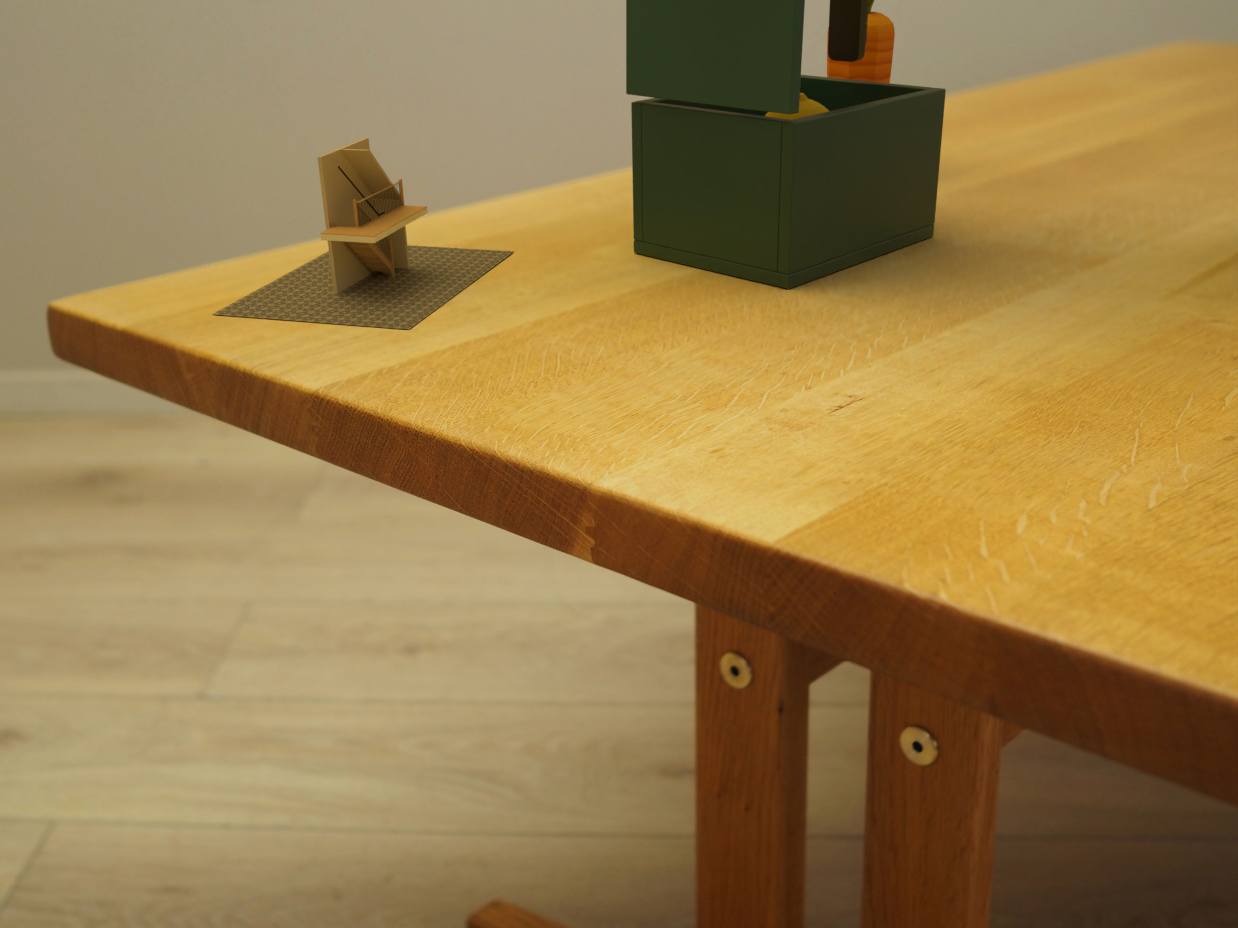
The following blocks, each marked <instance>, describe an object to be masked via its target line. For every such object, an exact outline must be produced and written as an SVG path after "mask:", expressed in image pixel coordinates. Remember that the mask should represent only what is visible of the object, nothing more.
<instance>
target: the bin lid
mask: <svg viewBox="0 0 1238 928" xmlns="http://www.w3.org/2000/svg"><path fill="white" fill-rule="evenodd" d="M805 5H806V0H625V16H626V17H625V64H626V65H625V88H626V89H625V93H626V95H628V96H629V95H630V96H636V97H637V96H638V97H647V98H661V99H669V100H677V101H685V102H693V103H701V104H709V105H717V106H725V107H733V108H741V109H749V110H757V111H765V112H773V113H782V114H795V113H799V100H800V82H801V75H802V63H803V62H802V59H803V44H804V43H803V42H804V25H805Z"/></svg>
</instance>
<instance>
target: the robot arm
mask: <svg viewBox="0 0 1238 928" xmlns="http://www.w3.org/2000/svg"><path fill="white" fill-rule="evenodd" d="M868 5H869V0H829V11H828V12H829V13H828V27H829V33H828V32H827V33H828V56H829V58H830V59H831V60H834V61H845V62H854V61H860V60H861V59H863V57H864V55H865V44H866V41H867V31H866V30H867V22H868Z"/></svg>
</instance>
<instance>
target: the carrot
mask: <svg viewBox="0 0 1238 928" xmlns="http://www.w3.org/2000/svg"><path fill="white" fill-rule="evenodd" d="M874 3H875V0H869V5H868V22H867V30H866V31H867V41H866V44H865V55H864V57H863V59H861V60H860V61H854V62H845V61H834V60H831V59H830V58H829V56H828V33H829V26H828V28H827V33H826V35H827V37H826V77H830V78H840V79H850V80H861V81H871V82H881V83H890V82H891V75H892V66H893V57H894V48H895V47H894V46H895V35H896V33H895V25H894V22H893V21H892V20H891V19H890V17H888V16H887V15H885V14H884V13H882V12H877V11H872V8H873V6H874Z"/></svg>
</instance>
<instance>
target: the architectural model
mask: <svg viewBox="0 0 1238 928" xmlns="http://www.w3.org/2000/svg"><path fill="white" fill-rule="evenodd" d="M369 138H370V137H364V138H361V139H358V140H356V141H354V142H352V143H348V144H346V145H344V146H341V147H339V148H337V149H333V150H331V151H329V152H327V153H323V154H321V155H319V156H317V164H318V165H317V166H318V175H319V181H320V190H321V191H320V192H321V198H322V206H323V214H324V223H325V230H324V231H322V232H320V234H319V235H320V241H327V248H328V251H326V252H324V253H322V254H320V255H318V256H316V257H315V258H313V259H312V260H309V261H308V262H305V263H304V264H302V265H300V266H299V267H297V268H294V269H293V270H291V271H289V272H288V273H286V274H284V275H282V276H280V277H278V278H276V279H274V280H273V281H271V282H269V283H267V284H265V285H263V286H261V287H260V288H258V289H256V290H255V291H252V292H250V293H249V294H247V295H245V296H243V297H242V298H239V299H237V300H236V301H233V302H232V303H230V304H228V305H227V306H225V307H223V308H221V309H219V310H217V311H215V312H214V313H213V315H214V316H215V315H217V316H229V317H241V318H253V319H254V318H255V319H267V320H269V319H270V320H281V321H293V322H307V323H318V324H319V323H321V324H331V325H332V324H333V325H334V324H335V325H344V326H345V325H348V326H359V327H373V328H384V329H385V328H386V329H398V330H410V329H411V328H413V327H414V326H416V325H417V324H418V323H420V322H421V321H422V320H424V319H425V318H427V317H428V316H429V315H430V314H432V313H434V311H436V310H438V309H439V308H440V307H442V306H443V305H444V304H445V303H447V302H448V301H449V300H451V299H452V298H453V297H455V296H456V295H457V294H459V293H461V291H463V290H465V289H466V288H467V287H468V286H469V285H471V284H472V283H474V282H475V281H476V280H478V279H479V278H480V277H482V276H483V275H484V274H486V273H487V272H488V271H490V270H491V269H492V268H494V267H496V266H497V265H498V264H500V263H501V262H502V261H503V260H505V259H506V258H507V257H509V256H510V255H512V254H513V253H514V252H515V251H513V250H498V249H497V250H496V249H495V250H494V249H481V248H480V249H479V248H478V249H477V248H463V247H462V248H458V247H445V246H428V245H427V246H425V245H410V244H409V245H408V237H407V227H406V226H408V225H409V224H411V223H413V222H415V221H416V220H418V219H419V218H422V217H424V216H425V215H427V214H428V206H427V205H426V206H425V205H424V206H423V205H405V197H404V185H403V179H402V178H399V179H398V181H397V182H395V183H394V182H392V180H391V178H389V176H388V174H387V173H386V172H385V170H384V168H383V167H382V165H381V164H380V162H379V161H378V159H377V158H376V157H375V155H374V154H373V152H372V151H371V149H370V139H369Z"/></svg>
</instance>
